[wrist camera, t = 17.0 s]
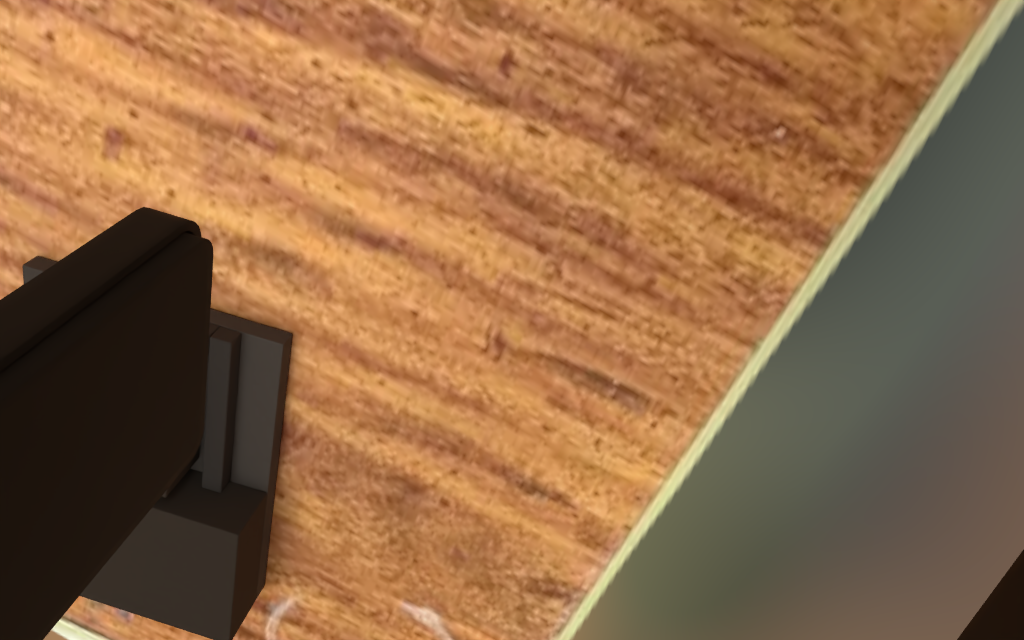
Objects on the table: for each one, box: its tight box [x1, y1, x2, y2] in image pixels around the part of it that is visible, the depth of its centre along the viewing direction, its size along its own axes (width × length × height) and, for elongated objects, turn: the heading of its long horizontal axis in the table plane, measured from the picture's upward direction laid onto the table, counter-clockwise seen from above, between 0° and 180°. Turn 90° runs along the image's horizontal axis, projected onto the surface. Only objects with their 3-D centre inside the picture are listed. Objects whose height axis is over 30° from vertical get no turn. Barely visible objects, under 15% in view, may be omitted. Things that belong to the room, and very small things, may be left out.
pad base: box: [23, 256, 292, 640], centre depth 41 cm, size 16×12×4 cm
